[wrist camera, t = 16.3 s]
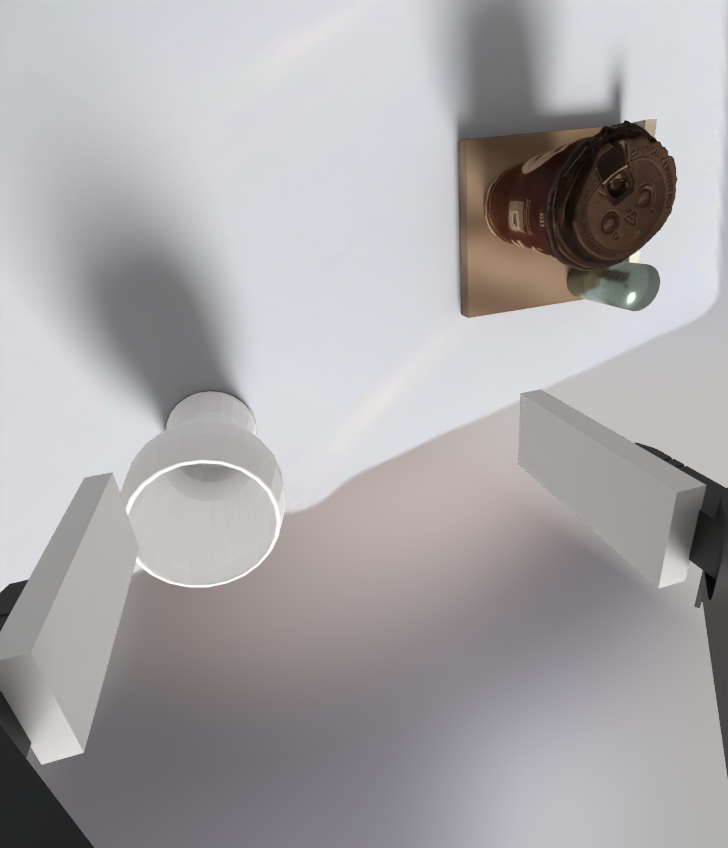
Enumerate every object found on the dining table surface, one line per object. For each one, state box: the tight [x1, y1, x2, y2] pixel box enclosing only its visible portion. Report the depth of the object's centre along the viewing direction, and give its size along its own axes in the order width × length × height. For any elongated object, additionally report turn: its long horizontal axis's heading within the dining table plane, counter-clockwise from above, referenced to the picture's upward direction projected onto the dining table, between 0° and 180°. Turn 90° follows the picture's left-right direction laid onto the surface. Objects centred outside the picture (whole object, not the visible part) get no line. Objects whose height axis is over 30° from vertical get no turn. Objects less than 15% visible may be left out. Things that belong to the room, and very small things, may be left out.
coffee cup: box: [484, 120, 677, 271], centre depth 36 cm, size 9×8×13 cm
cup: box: [120, 391, 286, 587], centre depth 38 cm, size 11×11×15 cm
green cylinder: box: [567, 261, 660, 311], centre depth 43 cm, size 4×4×7 cm
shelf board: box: [459, 119, 657, 318], centre depth 43 cm, size 14×15×4 cm
